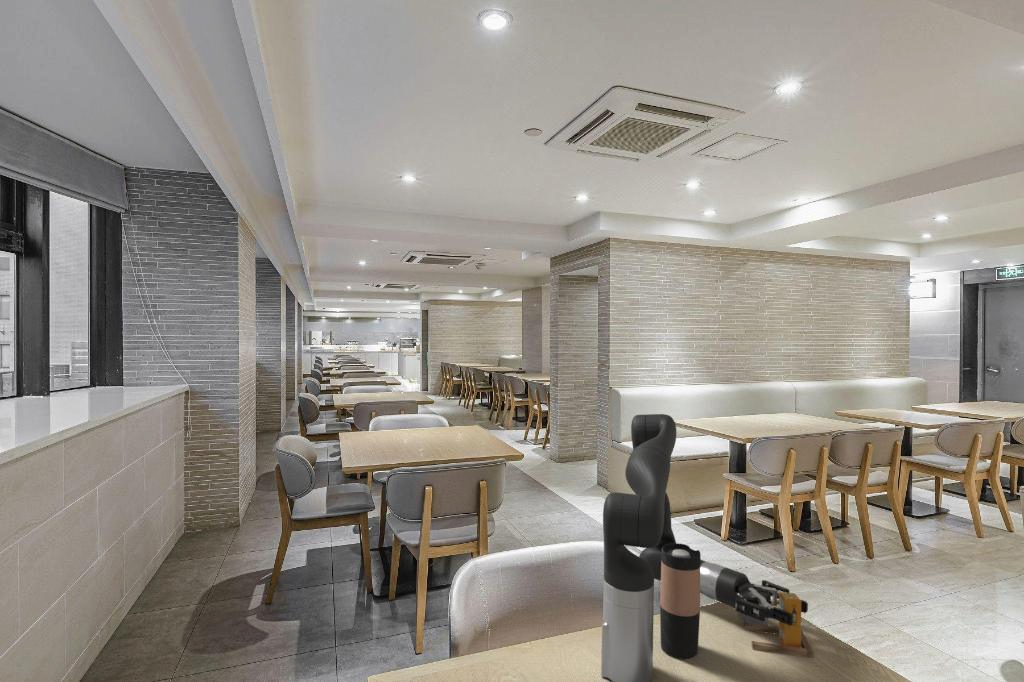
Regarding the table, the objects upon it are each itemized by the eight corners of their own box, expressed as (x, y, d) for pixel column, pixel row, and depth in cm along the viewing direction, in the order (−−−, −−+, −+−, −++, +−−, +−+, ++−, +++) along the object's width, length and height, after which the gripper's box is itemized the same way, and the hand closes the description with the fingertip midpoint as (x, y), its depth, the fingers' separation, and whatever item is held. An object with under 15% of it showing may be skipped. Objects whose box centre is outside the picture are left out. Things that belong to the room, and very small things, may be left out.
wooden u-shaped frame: (752, 649, 108) (752, 644, 108) (744, 626, 116) (744, 622, 116) (813, 657, 105) (814, 652, 105) (801, 634, 114) (801, 629, 114)
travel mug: (659, 657, 105) (661, 556, 105) (658, 635, 112) (660, 541, 112) (701, 663, 103) (703, 560, 103) (697, 641, 111) (699, 545, 110)
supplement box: (794, 639, 112) (795, 592, 111) (801, 649, 108) (802, 600, 108) (777, 638, 112) (778, 591, 112) (784, 648, 109) (785, 599, 108)
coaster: (744, 625, 117) (744, 622, 117) (740, 613, 122) (740, 610, 122) (768, 628, 116) (769, 625, 116) (763, 616, 121) (763, 613, 121)
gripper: (706, 577, 116) (786, 607, 104) (737, 559, 126) (813, 584, 113) (705, 611, 116) (785, 645, 104) (736, 590, 126) (813, 619, 113)
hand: (799, 613), depth 109 cm, fingers open, 7 cm apart
